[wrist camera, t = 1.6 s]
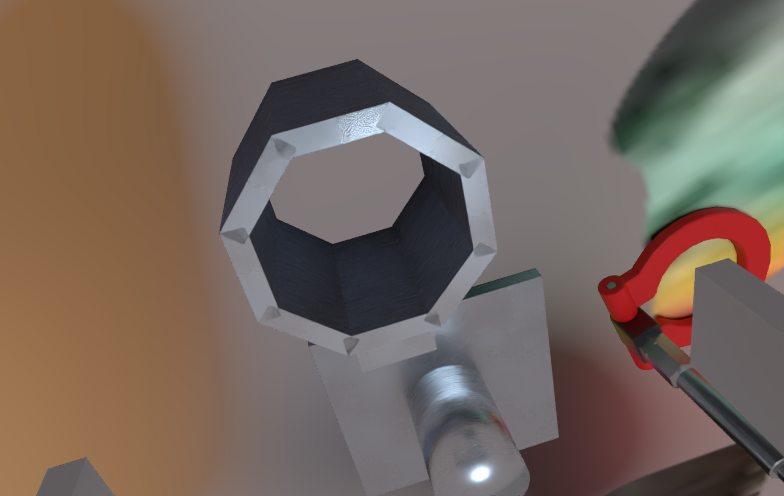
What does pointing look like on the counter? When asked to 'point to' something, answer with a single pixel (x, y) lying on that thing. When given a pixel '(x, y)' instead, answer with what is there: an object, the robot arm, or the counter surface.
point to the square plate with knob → (453, 398)
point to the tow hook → (665, 337)
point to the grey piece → (367, 252)
